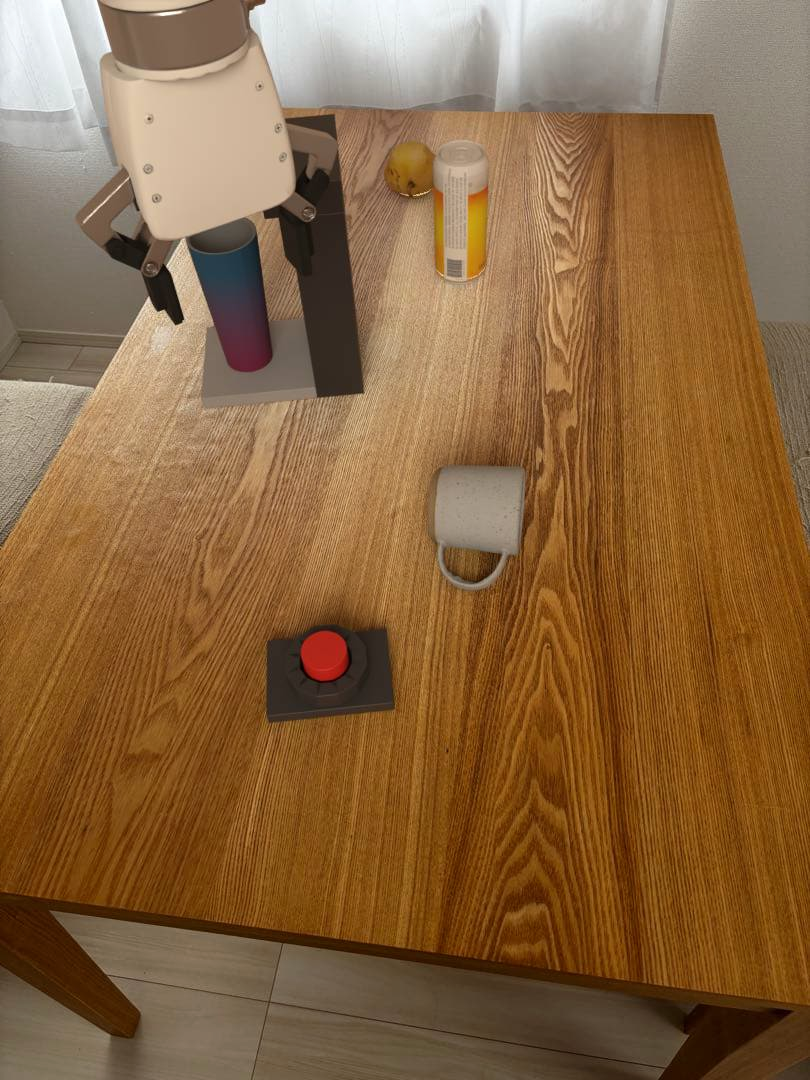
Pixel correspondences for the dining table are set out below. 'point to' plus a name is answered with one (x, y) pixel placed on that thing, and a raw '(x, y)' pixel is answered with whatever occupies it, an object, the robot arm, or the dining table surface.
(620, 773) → the dining table surface
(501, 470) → the ceramic mug
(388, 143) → the dining table surface
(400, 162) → the fruit
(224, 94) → the robot arm
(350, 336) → the coffee maker
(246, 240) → the cup
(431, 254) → the dining table surface
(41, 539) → the dining table surface
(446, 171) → the beer can
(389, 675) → the pad
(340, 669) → the button
